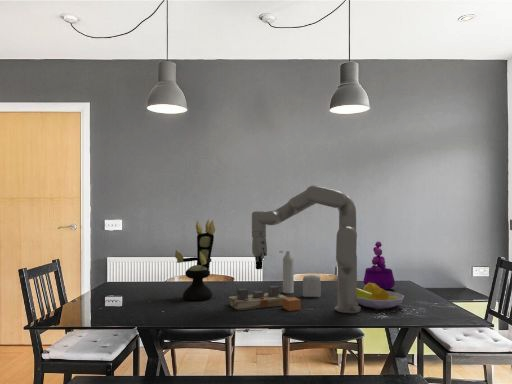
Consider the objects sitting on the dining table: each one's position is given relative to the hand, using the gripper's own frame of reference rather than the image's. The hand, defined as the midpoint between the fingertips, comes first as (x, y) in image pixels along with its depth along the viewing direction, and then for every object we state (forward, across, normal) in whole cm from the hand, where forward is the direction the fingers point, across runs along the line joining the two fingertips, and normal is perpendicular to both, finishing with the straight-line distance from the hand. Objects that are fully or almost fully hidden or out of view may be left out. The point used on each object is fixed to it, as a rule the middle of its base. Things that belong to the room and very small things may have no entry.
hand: (259, 268), depth 214 cm
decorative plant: (+19, +6, -85) cm, 87 cm away
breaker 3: (+16, 0, -9) cm, 18 cm away
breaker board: (+19, 0, 0) cm, 19 cm away
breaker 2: (+18, 0, 0) cm, 18 cm away
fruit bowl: (+19, -26, -55) cm, 64 cm away
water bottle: (+19, +21, -28) cm, 40 cm away
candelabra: (+19, +30, +24) cm, 43 cm away
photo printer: (+19, +5, -36) cm, 41 cm away
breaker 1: (+16, 0, +9) cm, 18 cm away
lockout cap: (+19, -15, -12) cm, 27 cm away
